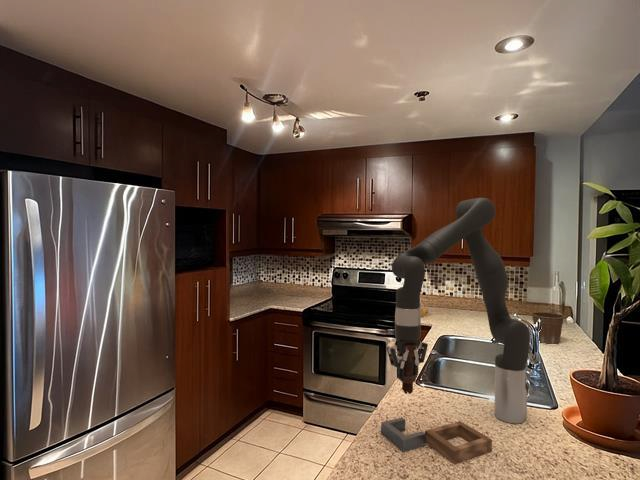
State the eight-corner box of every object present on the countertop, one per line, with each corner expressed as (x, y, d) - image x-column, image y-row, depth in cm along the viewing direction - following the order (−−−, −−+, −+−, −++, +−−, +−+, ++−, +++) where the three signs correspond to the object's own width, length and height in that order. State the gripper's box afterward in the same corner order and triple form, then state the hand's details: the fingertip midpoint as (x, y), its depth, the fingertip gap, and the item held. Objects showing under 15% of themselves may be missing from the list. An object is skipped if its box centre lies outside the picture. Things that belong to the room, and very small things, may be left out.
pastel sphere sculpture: (435, 316, 293) (435, 303, 292) (425, 322, 273) (425, 308, 273) (404, 312, 306) (404, 300, 306) (392, 317, 287) (392, 305, 287)
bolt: (416, 389, 120) (416, 340, 120) (418, 396, 115) (418, 345, 115) (396, 388, 121) (397, 340, 120) (398, 395, 116) (398, 345, 115)
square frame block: (460, 432, 122) (460, 420, 122) (491, 451, 111) (491, 439, 111) (424, 442, 116) (424, 430, 116) (454, 464, 105) (454, 451, 105)
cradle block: (402, 428, 124) (402, 417, 124) (425, 445, 114) (425, 433, 114) (381, 433, 121) (381, 422, 121) (403, 452, 111) (403, 439, 111)
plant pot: (550, 338, 229) (550, 311, 229) (571, 346, 213) (572, 317, 213) (524, 339, 227) (525, 312, 226) (544, 347, 211) (544, 318, 210)
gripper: (418, 317, 124) (418, 371, 124) (380, 321, 118) (380, 378, 118) (434, 322, 117) (434, 379, 117) (395, 327, 111) (395, 387, 111)
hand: (407, 378), depth 118 cm, fingers closed on bolt, 4 cm apart
